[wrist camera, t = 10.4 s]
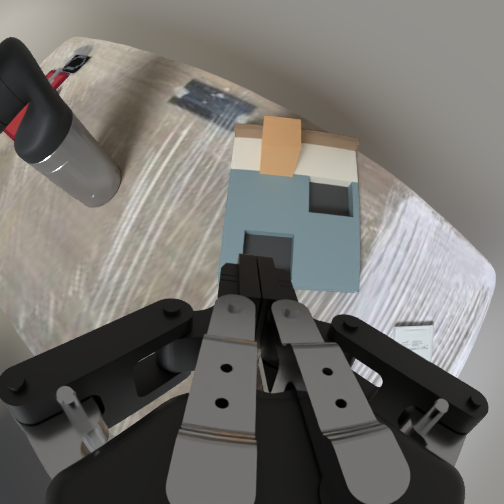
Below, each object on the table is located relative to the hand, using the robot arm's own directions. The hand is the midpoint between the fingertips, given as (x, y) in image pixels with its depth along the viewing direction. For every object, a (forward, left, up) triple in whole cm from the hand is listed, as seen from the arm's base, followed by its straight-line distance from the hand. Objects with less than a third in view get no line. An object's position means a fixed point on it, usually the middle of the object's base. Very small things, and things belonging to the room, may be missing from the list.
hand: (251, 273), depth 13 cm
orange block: (+2, +21, -25) cm, 33 cm away
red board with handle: (-60, +45, -29) cm, 81 cm away
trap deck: (+5, +14, -28) cm, 32 cm away
